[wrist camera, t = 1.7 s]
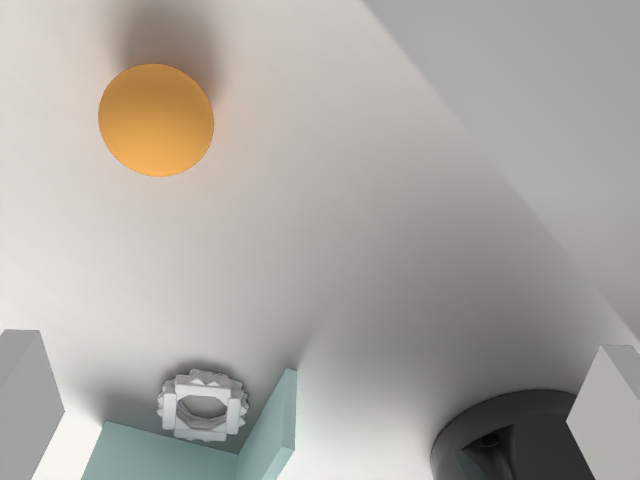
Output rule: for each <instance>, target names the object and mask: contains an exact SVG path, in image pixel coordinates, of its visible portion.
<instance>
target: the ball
mask: <svg viewBox="0 0 640 480" xmlns="http://www.w3.org/2000/svg"><path fill="white" fill-rule="evenodd" d="M98 119H99V127H100V132H101V135H102V137H103V140H104V142H105V144H106V146H107V147H108V149H109V150H110V152H111V153H112V154H113V155H114V156H115V157H116V158H117V159H118V160H119V161H120V162H121V163H122V164H123V165H125V166H126V167H128V168H130V169H132V170H134V171H136V172H138V173H141V174H145V175H149V176H157V177H164V176H171V175H175V174H178V173H181V172H184V171H186V170H187V169H189V168H191V167H192V166H193V165H195V164H196V163H197V162H198V161H199V160H200V159H201V158H202V157H203V155H204V154H205V153H206V151H207V149H208V147H209V145H210V142H211V140H212V136H213V131H214V118H213V112H212V108H211V105H210V102H209V100H208V98H207V96H206V94H205V93H204V91H203V89H202V88H201V87H200V86H199V85H198V84H197V83H196V82H195V81H194V80H193V79H192V78H191V77H190V76H188V75H187V74H185V73H184V72H182V71H180V70H178V69H176V68H174V67H171V66H167V65H163V64H141V65H137V66H134V67H132V68H129V69H127V70H125V71H123V72H122V73H120V74H119V75H118V76H116V77H115V78H114V79H113V80H112V81H111V83H110V84H109V85H108V86H107V88H106V90H105V91H104V94H103V96H102V98H101V101H100V105H99V113H98Z"/></svg>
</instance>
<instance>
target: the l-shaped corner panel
mask: <svg viewBox="0 0 640 480" xmlns="http://www.w3.org/2000/svg"><path fill="white" fill-rule="evenodd" d="M164 383H165V384H164V385H163V387H162V392H161V393H160V394H158V398H157V401H158V402H159V403H158V405H157V406H158V407H159V408H160V409H158V410H157V414H158V415H159V416H160V417H162V429H165V430H173V429H174V437H176V438H186V439H187V440H188V441H192V440H194V439H200V440H203V441H204V442H209V441H211V440H212V441H226V436H227V434H238V429H239V427H240V426H242V425H245V424H246V421H245V420H244V419H245V418H246V415H245V413H247V412H248V408H250V406H249V405H248V403H247V402H246V399H247V397H248V394H247V393H244V390H242V389H241V387H242V385H243V383H242V382H238V381H235V380H232V379H229V378H228V376H227V375H223V373H217V374H214V372H213V371H207V372H205V371H202V370H199V369H195V368H192V369H191V371H190V373H189V375H181V374H178V375H176V378H174V379H171V380H168V381H165V382H164ZM296 391H297V371H295V370H292V369H289V368H286V369H285V371H284V373H283V375H282V376H281V378H280V380H279V382H278V384H277V385H276V387H275V389H274V391H273V393H272V395H271V396H270V398H269V400H268V402H267V404H266V405H265V407H264V409H263V411H262V413H261V415H260V416H259V418H258V420H257V422H256V424H255V425H254V427H253V429H252V431H251V433H250V435H249V436H248V438H247V440H246V442H245V444H244V446H243V447H242V449H241V451H240V453H239V455H236V454H232V453H228V452H224V451H221V450H217V449H213V448H209V447H205V446H201V445H197V444H194V443H190V442H186V441H182V440H178V439H174V438H171V437H167V436H163V435H159V434H155V433H151V432H147V431H144V430H140V429H136V428H132V427H128V426H124V425H120V424H117V423H113V422H109V421H105V424H104V426H103V428H102V431H101V433H100V435H99V438H98V440H97V443H96V445H95V447H94V450H93V452H92V455H91V457H90V459H89V462H88V464H87V466H86V469H85V471H84V474H83V476H82V478H81V480H276V479H277V477H278V476H279V474H280V472H281V471H282V469H283V468H284V466H285V465H286V463H287V461H288V460H289V458H290V457H291V455H292V453H293V452H294V450H295V422H296ZM188 395H196V396H207V397H216V398H217V399H219V400H220V401H221V402H222V403H223V404H224V405H225V406H226V407H227V411H226V413H225V415H222V416H217V417H213V418H209V419H206V418H203V417H199V416H195V415H192V414H191V413H190V412H189V411H188V410H187V408H186V407H185V406H184V405H183V403H182V402H181V401H180V399H182V398H184V397H186V396H188Z"/></svg>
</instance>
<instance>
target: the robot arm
mask: <svg viewBox="0 0 640 480" xmlns="http://www.w3.org/2000/svg"><path fill="white" fill-rule="evenodd" d="M64 412H65V410H64V407H63V404H62V401H61V398H60V394H59V391H58V388H57V385H56V382H55V378H54V375H53V372H52V369H51V366H50V363H49V359H48V356H47V353H46V350H45V347H44V343H43V340H42V337H41V334H40V331H39V330H4V332H3V333H2V334H1V336H0V480H31V479H32V477H33V475H34V473H35V471H36V469H37V467H38V465H39V463H40V461H41V459H42V457H43V455H44V453H45V451H46V449H47V447H48V445H49V443H50V441H51V439H52V437H53V435H54V433H55V431H56V428H57V426H58V424H59V422H60V420H61V418H62V416H63V414H64ZM431 469H432V474H433V478H434V480H640V356H639V354H638V353H637V352H636V350H635V349H634V348H633V346H627V345H600V347H599V350H598V352H597V354H596V356H595V358H594V361H593V363H592V365H591V367H590V369H589V372H588V374H587V376H586V378H585V381H584V383H583V385H582V387H581V389H580V392H579V394H578V396H575V395H572V394H568V393H563V392H556V391H526V392H518V393H512V394H508V395H504V396H500V397H497V398H494V399H491V400H488V401H486V402H483V403H481V404H479V405H477V406H475V407H473V408H471V409H469V410H468V411H466V412H464V413H463V414H461V415H460V416H458V417H457V418H456V419H455V420H453V421H452V422H451V423H450V424H449V425H448V426H447V427H446V428H445V429H444V430H443V431H442V433H441V434H440V435H439V437H438V439H437V440H436V442H435V444H434V447H433V449H432V453H431Z"/></svg>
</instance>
